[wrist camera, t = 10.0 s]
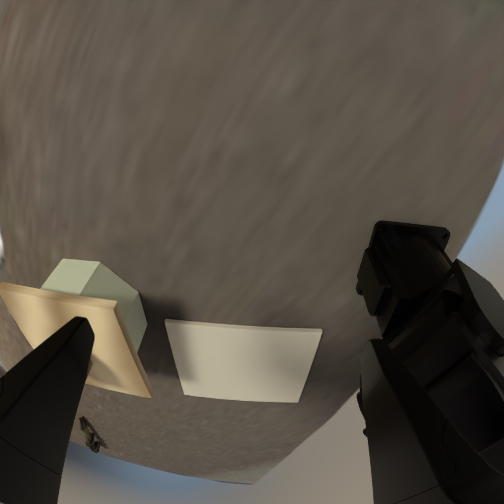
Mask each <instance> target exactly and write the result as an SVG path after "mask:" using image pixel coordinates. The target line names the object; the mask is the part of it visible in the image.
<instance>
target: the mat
mask: <svg viewBox="0 0 504 504" xmlns="http://www.w3.org/2000/svg"><path fill="white" fill-rule="evenodd" d="M165 326H166V330H167V334H168V338H169V342H170V346H171V349H172V353H173V357H174V360H175V364H176V367H177V371H178V374H179V378H180V381H181V384H182V388H183V391H184V394H185V395H191V396H199V397H208V398H218V399H230V400H243V401H261V402H298V401H299V398H300V396H301V393H302V390H303V388H304V385H305V382H306V379H307V376H308V374H309V371H310V368H311V365H312V362H313V359H314V356H315V353H316V350H317V347H318V344H319V341H320V338H321V335H322V329H311V328H281V327H260V326H244V325H229V324H216V323H204V322H193V321H183V320H173V319H165Z"/></svg>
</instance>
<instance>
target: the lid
mask: <svg viewBox="0 0 504 504" xmlns="http://www.w3.org/2000/svg"><path fill="white" fill-rule="evenodd" d="M0 295H1V296H2V298H3V300H4V302H5V304H6V305H7V307H8V309H9V311H10V312H11V314H12V316H13V318H14V319H15V321H16V323H17V324H18V326H19V327H20V329H21V331H22V332H23V334H24V335H25V337H26V338H27V340H28V341H29V343H30V344H31V346H32V347H33V349H35V348H36V347H37V346H39V345H40V344H41V343H42V342H44V341H45V340H46V339H47V338H48V337H50V336H51V335H52V334H53V333H55V332H56V331H57V330H58V329H60V328H61V327H62V326H63V325H65V324H66V323H67V322H68V321H70V320H71V319H72V318H74V317H75V316H81V317H86V318H87V319H88V321H89V323H90V325H91V327H92V329H93V331H94V334H95V341H94V345H93V350H92V354H91V359H90V363H89V368H88V373H87V377H86V381H85V383H86V384H90V385H94V386H98V387H102V388H106V389H110V390H114V391H118V392H123V393H127V394H132V395H137V396H142V397H147V398H152V396H153V392H154V391H153V389H152V386H151V384H150V382H149V380H148V378H147V375H146V373H145V371H144V368H143V366H142V364H141V361H140V359H139V357H138V354H137V352H136V349H135V347H134V344H133V342H132V339H131V337H130V334H129V331H128V329H127V326H126V323H125V321H124V318H123V315H122V312H121V310H120V307H119V304H118V301H113V300H105V299H98V298H91V297H85V296H78V295H72V294H65V293H59V292H53V291H47V290H42V289H36V288H31V287H25V286H20V285H15V284H10V283H5V282H1V284H0ZM84 385H85V384H84Z"/></svg>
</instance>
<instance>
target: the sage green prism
mask: <svg viewBox="0 0 504 504" xmlns="http://www.w3.org/2000/svg"><path fill="white" fill-rule="evenodd" d="M40 289H42V290H47V291H53V292H59V293H65V294H72V295H78V296H85V297H91V298H98V299H105V300H113V301H118V304H119V307H120V310H121V312H122V315H123V318H124V321H125V323H126V326H127V329H128V331H129V334H130V337H131V339H132V342H133V344H134V347H135V349H136V352H138V349H139V346H140V343H141V341H142V338H143V335H144V332H145V330H146V327H147V321H146V317H145V314H144V310H143V307H142V303H141V300H140V296H139V293H138V291H137V290H135V289H134V288H133V287H131V286H130V285H129V284H128V283H126V282H125V281H124V280H123V279H121V278H120V277H119V276H117V275H116V274H115V273H114V272H112V271H111V270H110V269H109V268H107V267H106V266H105V265H104V264H103V263H101V262H97V261H85V260H74V259H62V260H61V262H60V263H59V264H58V265H57V267H56V268H55V269H54V271H53V272H52V273H51V275H50V276H49V277H48V279H47V280H46V281H45V283H44V284H43V285H42V287H41V288H40Z"/></svg>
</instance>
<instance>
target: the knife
mask: <svg viewBox="0 0 504 504" xmlns="http://www.w3.org/2000/svg"><path fill="white" fill-rule="evenodd" d="M79 419H80V423H81V430H82V431H83V433H84V436H85V438H86V445H87V447H90V449H91V450H92V451H93V452H95V453H98V452H99V448H100V443H99V442H96V441H95V442H94V434H93V433H90V432H89V429H88V427H87V424H86V422H85V420H84V418H83V417H80V418H79Z"/></svg>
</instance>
